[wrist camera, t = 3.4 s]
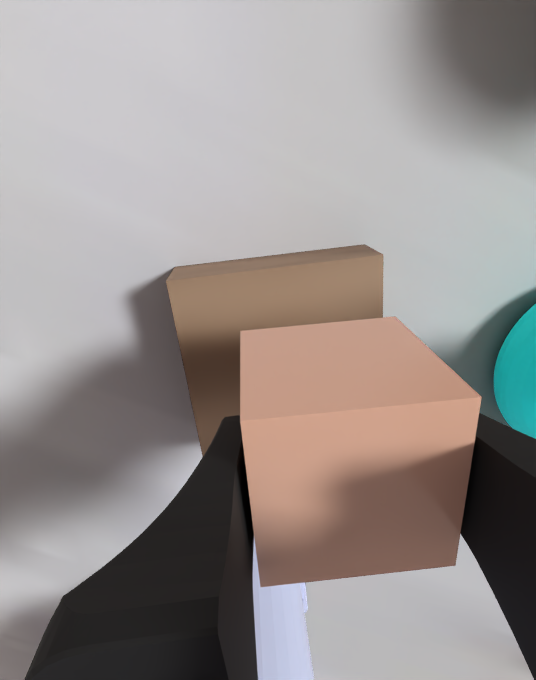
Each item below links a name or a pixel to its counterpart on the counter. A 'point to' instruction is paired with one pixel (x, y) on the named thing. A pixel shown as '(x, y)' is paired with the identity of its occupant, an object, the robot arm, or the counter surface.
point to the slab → (261, 313)
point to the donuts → (518, 375)
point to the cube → (353, 450)
